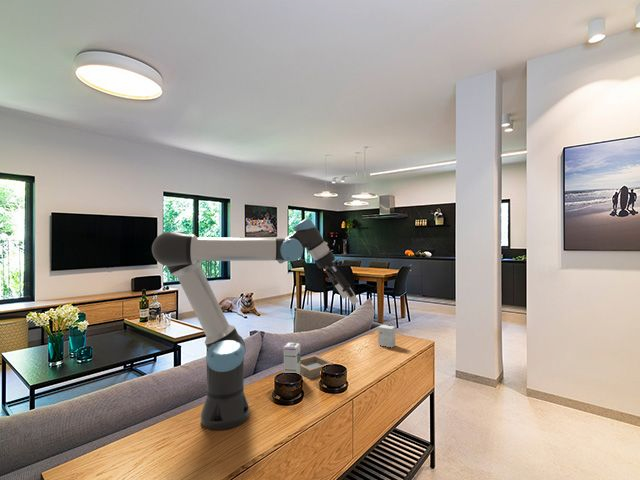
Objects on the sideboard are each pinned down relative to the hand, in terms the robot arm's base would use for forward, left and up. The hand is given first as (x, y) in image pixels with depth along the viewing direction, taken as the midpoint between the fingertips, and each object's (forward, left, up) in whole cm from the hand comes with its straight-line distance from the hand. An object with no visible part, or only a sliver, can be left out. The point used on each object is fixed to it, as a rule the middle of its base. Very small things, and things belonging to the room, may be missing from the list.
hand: (350, 299), depth 129 cm
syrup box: (-15, +20, -35) cm, 42 cm away
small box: (+49, +23, -35) cm, 64 cm away
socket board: (-2, +23, -34) cm, 41 cm away
